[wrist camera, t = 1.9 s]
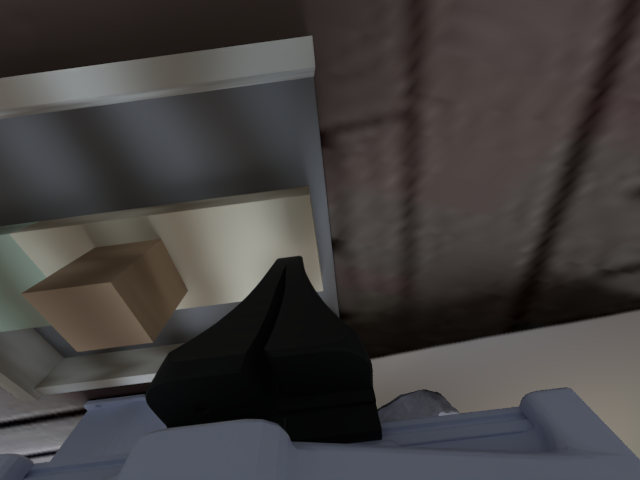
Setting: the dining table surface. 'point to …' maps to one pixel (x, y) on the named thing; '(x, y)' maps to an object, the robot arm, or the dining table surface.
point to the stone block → (415, 406)
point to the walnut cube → (111, 296)
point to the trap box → (157, 193)
